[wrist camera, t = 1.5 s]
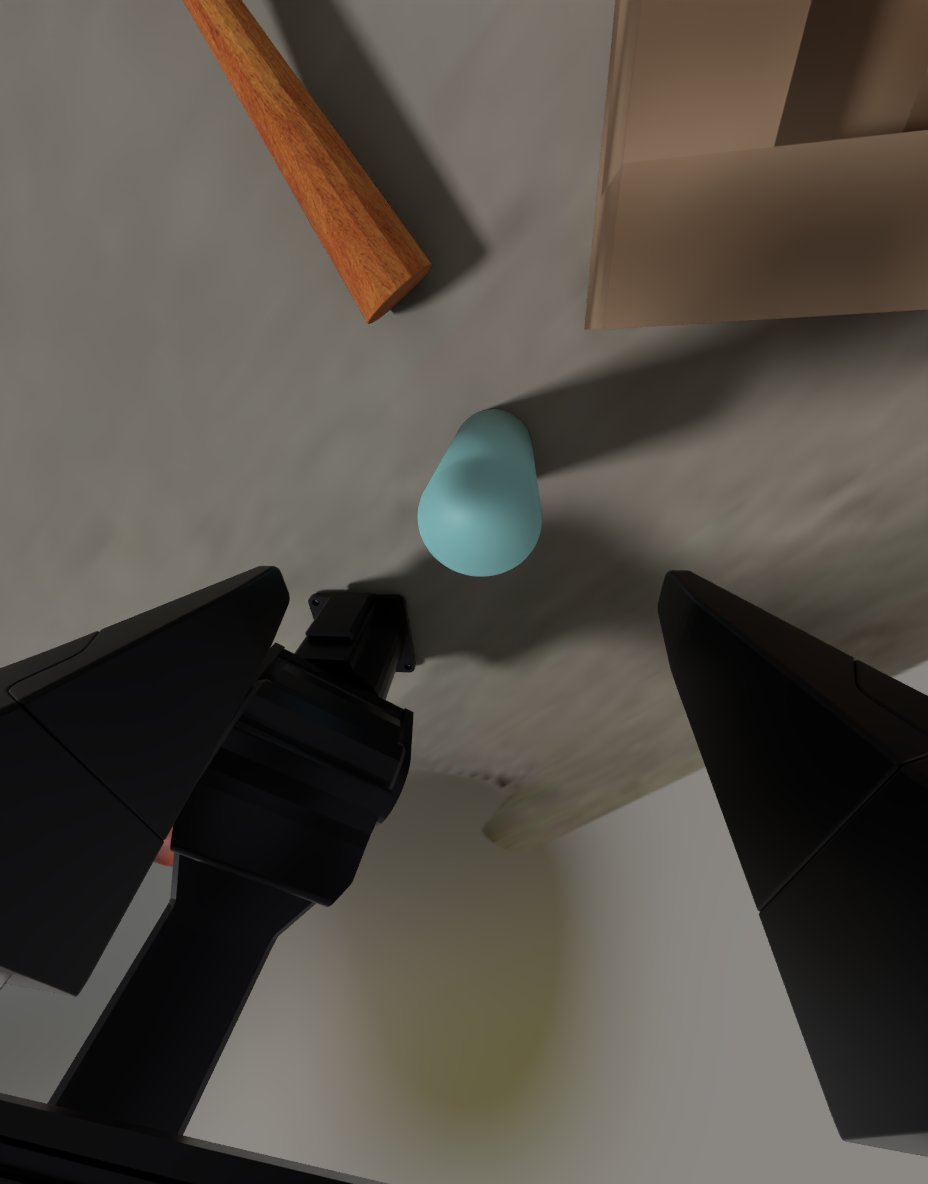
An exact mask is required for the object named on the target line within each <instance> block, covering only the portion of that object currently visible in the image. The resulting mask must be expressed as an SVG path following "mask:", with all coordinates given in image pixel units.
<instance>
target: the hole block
mask: <svg viewBox="0 0 928 1184" xmlns="http://www.w3.org/2000/svg"><path fill="white" fill-rule="evenodd" d="M913 310H928V0H616V1H615V12H614V23H613V33H612V44H611V54H610V65H609V76H608V86H607V97H606V107H605V118H604V128H603V139H602V150H601V160H600V171H599V181H598V192H597V203H596V213H595V224H594V234H593V245H592V255H591V266H590V277H589V287H588V298H587V308H586V319H585V329H619V328H635V327H652V326H668V325H684V324H701V323H717V322H733V321H750V320H766V319H782V318H799V317H815V316H831V315H847V314H864V313H880V312H896V311H913Z"/></svg>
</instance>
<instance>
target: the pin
mask: <svg viewBox="0 0 928 1184" xmlns="http://www.w3.org/2000/svg"><path fill="white" fill-rule="evenodd" d="M418 526H419V531H420V534H421V537H422V539H423V542H424V544H425V545H426V547H427V548H428V550H429V551H430V553H431V554H432V555H433V556H434V557H435V558H436V559H437V560H438V561H439V562H441V563H442V564H443V565H445V566H446V567H448V568H450V569H451V570H454V571H456V572H458V573H462V574H465V575H470V576H479V577H483V576H493V575H498V574H501V573H504V572H506V571H509V570H511V569H513V568H514V567H516V566H517V565H519V564H520V563H522V562H523V561H524V560H525V559H526V558H527V557H528V556H529V554H530V553H531V552H532V550H533V549H534V547H535V546H536V543H537V541H538V539H539V536H540V532H541V526H542V513H541V506H540V499H539V491H538V484H537V477H536V469H535V462H534V455H533V447H532V441H531V437H530V434H529V432H528V430H527V428H526V426H525V425H524V424H523V422H522V421H521V420H520V419H519V418H518V417H516V416H515V415H513V414H511V413H509V412H507V411H504V410H499V409H488V410H483V411H480V412H478V413H476V414H474V415H472V416H471V417H470V418H468V419H467V420H466V421H465V422H464V423H463V425H462V426H461V427H460V429H459V431H458V433H457V434H456V436H455V438H454V440H453V441H452V443H451V445H450V447H449V448H448V450H447V452H446V454H445V455H444V457H443V459H442V461H441V462H440V464H439V466H438V468H437V470H436V471H435V473H434V475H433V477H432V478H431V480H430V482H429V484H428V485H427V487H426V489H425V491H424V493H423V494H422V497H421V500H420V503H419V507H418Z"/></svg>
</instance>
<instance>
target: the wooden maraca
mask: <svg viewBox="0 0 928 1184" xmlns="http://www.w3.org/2000/svg"><path fill="white" fill-rule="evenodd" d="M183 2H184V4H185V5H186V7H187V9H188V11H189V12H190V14H191V16H192V17H193V19H194V21H195V23H196V24H197V26H198V28H199V30H200V31H201V33H202V35H203V37H204V38H205V40H206V42H207V44H208V45H209V47H210V49H211V51H212V52H213V54H214V56H215V58H216V59H217V61H218V63H219V65H220V66H221V68H222V70H223V72H224V73H225V75H226V77H227V79H228V80H229V82H230V84H231V86H232V87H233V89H234V91H235V93H236V94H237V96H238V98H239V100H240V101H241V103H242V105H243V107H244V108H245V110H246V112H247V114H248V115H249V117H250V119H251V121H252V122H253V124H254V126H255V128H256V129H257V131H258V133H259V135H260V136H261V138H262V140H263V141H264V143H265V145H266V147H267V148H268V150H269V152H270V154H271V155H272V157H273V159H274V161H275V162H276V164H277V166H278V168H279V169H280V171H281V173H282V175H283V176H284V178H285V180H286V182H287V183H288V185H289V187H290V189H291V190H292V192H293V194H294V196H295V197H296V199H297V201H298V203H299V204H300V206H301V208H302V210H303V211H304V213H305V215H306V217H307V218H308V220H309V222H310V224H311V225H312V227H313V229H314V231H315V232H316V234H317V236H318V238H319V239H320V241H321V243H322V245H323V246H324V248H325V250H326V252H327V253H328V255H329V257H330V259H331V260H332V262H333V264H334V265H335V267H336V269H337V271H338V272H339V274H340V276H341V278H342V279H343V281H344V283H345V285H346V286H347V288H348V290H349V292H350V293H351V295H352V297H353V299H354V300H355V302H356V304H357V306H358V307H359V309H360V311H361V313H362V314H363V316H364V318H365V320H366V321H367V323H368V324H370V323H373V322H374V321H376V320H378V319H379V318H380V317H382V316H383V315H384V314H386V313H387V312H388V311H389V310H391V309H392V308H393V307H394V306H395V305H396V304H397V303H398V302H399V301H400V300H401V299H402V298H403V297H404V296H405V295H406V294H407V293H408V292H410V291H411V290H412V289H413V288H414V287H415V286H416V285H417V284H418V283H419V282H420V281H421V280H422V279H423V278H424V276H425V275H426V274H427V273H428V272H429V270H430V268H431V267H432V264H431V262H430V261H429V260H428V258H427V257H426V255H425V254H424V253H423V251H422V250H421V248H420V247H419V246H418V244H417V243H416V242H415V240H414V239H413V237H412V236H411V235H410V233H409V232H408V230H407V229H406V228H405V226H404V225H403V223H402V222H401V221H400V219H399V218H398V217H397V215H396V214H395V212H394V211H393V210H392V208H391V207H390V205H389V204H388V203H387V201H386V200H385V199H384V197H383V196H382V194H381V193H380V192H379V190H378V189H377V187H376V186H375V185H374V183H373V182H372V180H371V179H370V178H369V176H368V175H367V174H366V172H365V171H364V169H363V168H362V167H361V165H360V164H359V162H358V161H357V160H356V158H355V157H354V156H353V154H352V153H351V151H350V150H349V149H348V147H347V146H346V144H345V143H344V142H343V140H342V139H341V137H340V136H339V135H338V133H337V132H336V131H335V129H334V128H333V126H332V125H331V124H330V122H329V121H328V119H327V118H326V117H325V115H324V114H323V113H322V111H321V110H320V108H319V107H318V106H317V104H316V103H315V101H314V100H313V99H312V97H311V96H310V94H309V93H308V92H307V90H306V89H305V88H304V86H303V85H302V83H301V82H300V81H299V79H298V78H297V76H296V75H295V74H294V72H293V71H292V70H291V68H290V67H289V65H288V64H287V63H286V61H285V60H284V58H283V57H282V56H281V54H280V53H279V52H278V50H277V49H276V47H275V46H274V45H273V43H272V42H271V40H270V39H269V38H268V36H267V35H266V33H265V32H264V31H263V29H262V28H261V27H260V25H259V24H258V22H257V21H256V20H255V18H254V17H253V15H252V14H251V13H250V11H249V10H248V9H247V7H246V6H245V4H244V3H243V2H242V0H183Z"/></svg>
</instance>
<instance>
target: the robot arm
mask: <svg viewBox="0 0 928 1184" xmlns="http://www.w3.org/2000/svg"><path fill="white" fill-rule="evenodd" d="M289 600H290V597H289V592H288V590H287V587H286V584H285V582H284V579H283V576H282V574H281V571H280V570H279V569H278V568H277V567H275V566H259V567H256V568H253V569H251V570H248V571H246V572H243V573H241V574H238V575H236V576H233V577H231V578H229V579H226V580H224V581H221V582H219V583H216V584H214V585H211V586H209V587H206V588H204V589H201V590H199V591H196V592H194V593H191V594H189V595H186V596H184V597H181V598H179V599H176V600H174V601H171V602H169V603H166V604H164V605H161V606H159V607H156V608H154V609H151V610H149V611H146V612H144V613H141V614H139V615H136V616H134V617H131V618H129V619H126V620H124V621H121V622H119V623H116V624H114V625H111V626H109V627H106V628H104V629H102V630H101V631H100V632H99V631H96V632H94V633H91V634H89V635H86V636H84V637H81V638H79V639H76V640H74V641H71V642H68V643H66V644H63V645H61V646H58V647H56V648H53V649H51V650H48V651H45V652H43V653H40V654H37V655H35V656H32V657H29V658H27V659H24V660H21V661H19V662H16V663H13V664H11V665H8V666H5V667H2V668H0V990H1V988H2V987H3V986H4V984H10V985H16V986H21V987H26V988H32V989H37V990H42V991H47V992H53V993H58V994H64V995H69V996H74V997H76V996H77V995H78V994H79V993H80V991H81V990H82V988H83V987H84V985H85V984H86V982H87V981H88V979H89V977H90V975H91V974H92V972H93V970H94V968H95V966H96V965H97V963H98V961H99V959H100V957H101V956H102V954H103V952H104V950H105V948H106V946H107V945H108V943H109V941H110V939H111V937H112V936H113V934H114V932H115V930H116V928H117V927H118V925H119V923H120V921H121V919H122V917H123V916H124V914H125V912H126V910H127V908H128V907H129V905H130V903H131V901H132V899H133V897H134V896H135V894H136V892H137V890H138V888H139V887H140V885H141V883H142V881H143V879H144V878H145V876H146V874H147V872H148V870H149V869H150V866H151V865H152V863H153V861H154V859H155V858H156V856H157V854H158V852H159V850H160V849H161V847H162V845H163V843H164V841H163V840H165V839H166V837H167V835H168V834H169V832H170V830H171V828H172V826H173V831H172V838H171V845H170V850H171V851H172V852H174V860H173V873H172V886H171V898H170V901H169V904H168V905H167V907H166V909H165V910H164V912H163V913H162V915H161V917H160V919H159V920H158V922H157V923H156V925H155V927H154V929H153V930H152V932H151V934H150V935H149V937H148V938H147V940H146V942H145V943H144V945H143V947H142V948H141V950H140V952H139V953H138V955H137V956H136V958H135V960H134V961H133V963H132V965H131V966H130V968H129V970H128V971H127V973H126V975H125V976H124V978H123V980H122V981H121V983H120V985H119V986H118V988H117V989H116V991H115V993H114V994H113V996H112V998H111V999H110V1001H109V1003H108V1004H107V1006H106V1008H105V1009H104V1011H103V1013H102V1014H101V1016H100V1018H99V1019H98V1021H97V1023H96V1024H95V1026H94V1028H93V1029H92V1031H91V1032H90V1034H89V1036H88V1037H87V1039H86V1041H85V1042H84V1044H83V1046H82V1047H81V1049H80V1051H79V1052H78V1054H77V1056H76V1057H75V1059H74V1060H73V1062H72V1064H71V1065H70V1067H69V1069H68V1070H67V1072H66V1074H65V1075H64V1077H63V1079H62V1080H61V1082H60V1084H59V1085H58V1087H57V1089H56V1090H55V1092H54V1094H53V1095H52V1097H51V1098H50V1100H49V1102H48V1103H47V1104H46V1103H42V1102H37V1101H33V1100H29V1099H25V1098H20V1097H16V1096H12V1095H8V1094H3V1093H0V1184H387V1183H383V1182H379V1181H375V1180H370V1179H366V1178H362V1177H358V1176H353V1175H349V1174H345V1173H340V1172H336V1171H332V1170H328V1169H323V1168H319V1167H314V1166H310V1165H306V1164H302V1163H298V1162H294V1161H289V1160H285V1159H281V1158H276V1157H272V1156H268V1155H264V1154H259V1153H255V1152H251V1151H247V1150H242V1149H238V1148H234V1147H230V1146H225V1145H221V1144H216V1143H212V1142H208V1141H204V1140H200V1139H195V1138H191V1137H187V1136H183V1133H184V1132H185V1129H186V1127H187V1125H188V1123H189V1121H190V1119H191V1117H192V1115H193V1112H194V1110H195V1108H196V1106H197V1104H198V1102H199V1100H200V1098H201V1096H202V1093H203V1092H204V1089H205V1087H206V1085H207V1083H208V1081H209V1079H210V1077H211V1074H212V1073H213V1071H214V1068H215V1066H216V1064H217V1062H218V1060H219V1058H220V1056H221V1054H222V1051H223V1050H224V1047H225V1045H226V1043H227V1041H228V1039H229V1037H230V1035H231V1033H232V1030H233V1028H234V1026H235V1024H236V1022H237V1020H238V1018H239V1016H240V1014H241V1011H242V1010H243V1007H244V1005H245V1003H246V1001H247V999H248V997H249V995H250V993H251V990H252V989H253V986H254V984H255V982H256V980H257V978H258V976H259V974H260V972H261V969H262V968H263V965H264V963H265V961H266V959H267V957H268V955H269V953H270V951H271V949H272V947H273V945H274V943H275V941H276V939H277V937H278V936H279V935H280V934H281V933H282V932H283V931H285V930H286V929H287V928H288V927H289V926H291V925H292V924H293V923H294V922H295V921H296V920H298V919H299V918H300V917H301V916H302V915H303V914H304V913H305V912H307V911H308V910H309V909H310V908H311V907H313V906H314V905H315V904H316V903H317V904H320V905H323V906H326V907H328V906H330V905H332V904H333V903H334V902H335V901H336V900H337V899H338V898H339V897H340V896H341V895H342V893H343V892H344V891H345V890H346V889H347V888H348V887H349V886H350V885H351V883H352V881H353V879H354V877H355V874H356V871H357V869H358V866H359V864H360V861H361V858H362V856H363V853H364V850H365V848H366V845H367V843H368V840H369V837H370V835H371V833H372V831H373V829H374V827H375V826H378V825H380V824H381V823H382V822H383V821H384V820H385V819H386V818H387V816H388V815H389V813H390V812H391V811H392V809H393V807H394V805H395V804H396V802H397V800H398V798H399V796H400V794H401V791H402V789H403V786H404V783H405V781H406V778H407V775H408V771H409V767H410V760H411V745H412V729H413V712H412V711H410V710H408V709H406V708H405V709H402V708H400V707H398V706H396V705H394V704H392V703H390V702H388V701H386V697H387V694H388V691H389V688H390V686H391V683H392V680H393V677H394V674H395V672H413V671H414V669H415V666H416V662H415V655H414V649H413V643H412V637H411V631H410V625H409V618H408V612H407V606H406V601H405V599H404V598H403V597H402V596H400V595H377V594H368V593H333V594H320V593H316V594H313V595H312V596H311V597H310V598H309V600H308V603H309V606H310V609H311V612H312V615H313V618H314V621H313V622H312V624H311V625H310V627H309V628H308V630H307V631H306V633H305V634H306V637H305V639H304V640H303V642H302V643H301V645H300V646H299V648H298V649H297V651H296V652H295V654H293V653H292V652H290V651H288V650H286V649H284V648H285V647H284V646H282V645H280V644H278V643H275V644H274V645H273V646H272V647H271V645H272V643H273V640H274V638H275V636H276V633H277V631H278V628H279V626H280V624H281V621H282V619H283V616H284V614H285V612H286V609H287V607H288V604H289ZM315 600H317V601H318V602H319V603H318V602H316V601H315ZM395 602H399V603H400V604H396V603H395ZM658 614H659V619H660V623H661V628H662V633H663V637H664V642H665V646H666V651H667V656H668V660H669V664H670V668H671V672H672V675H673V678H674V681H675V684H676V686H677V689H678V692H679V695H680V697H681V700H682V703H683V706H684V709H685V711H686V714H687V717H688V720H689V722H690V725H691V728H692V731H693V733H694V736H695V739H696V742H697V744H698V747H699V750H700V753H701V755H702V758H703V761H704V764H705V766H706V769H707V772H708V775H709V777H710V780H711V783H712V786H713V789H714V791H715V794H716V797H717V799H718V802H719V805H720V808H721V811H722V813H723V816H724V819H725V822H726V824H727V827H728V830H729V833H730V835H731V838H732V841H733V843H734V846H735V849H736V852H737V855H738V858H739V860H740V863H741V866H742V869H743V871H744V874H745V877H746V880H747V882H748V885H749V888H750V891H751V893H752V896H753V899H754V902H755V904H756V907H757V909H758V911H760V913H759V916H760V919H761V921H762V925H763V927H764V930H765V933H766V936H767V938H768V941H769V944H770V946H771V949H772V952H773V955H774V958H775V961H776V963H777V966H778V969H779V972H780V974H781V977H782V980H783V983H784V985H785V988H786V991H787V994H788V996H789V999H790V1002H791V1005H792V1007H793V1010H794V1013H795V1016H796V1018H797V1021H798V1024H799V1027H800V1029H801V1032H802V1035H803V1037H804V1041H805V1043H806V1046H807V1049H808V1052H809V1054H810V1057H811V1060H812V1063H813V1065H814V1068H815V1071H816V1073H817V1076H818V1079H819V1082H820V1085H821V1088H822V1090H823V1093H824V1096H825V1099H826V1101H827V1104H828V1107H829V1110H830V1112H831V1115H832V1117H833V1120H834V1123H835V1124H836V1127H837V1130H838V1132H839V1134H840V1136H841V1138H842V1140H844V1141H846V1142H852V1143H858V1144H862V1145H868V1146H873V1147H878V1148H884V1149H889V1150H894V1151H900V1152H905V1153H910V1154H916V1155H921V1156H927V1157H928V696H927V695H925V694H923V693H921V692H919V691H917V690H915V689H913V688H911V687H909V686H907V685H905V684H903V683H902V682H900V681H898V680H896V679H894V678H892V677H890V676H888V675H886V674H884V673H882V672H880V671H878V670H876V669H874V668H873V667H871V666H869V665H867V664H865V663H863V662H861V661H859V660H855V661H854V658H853V657H852V656H850V655H848V654H846V653H844V652H842V651H840V650H838V649H837V648H835V647H833V646H831V645H829V644H827V643H825V642H823V641H821V640H819V639H818V638H816V637H814V636H812V635H810V634H808V633H806V632H804V631H802V630H800V629H799V628H797V627H795V626H793V625H791V624H789V623H787V622H785V621H783V620H782V619H780V618H778V617H776V616H774V615H772V614H770V613H768V612H766V611H765V610H763V609H761V608H759V607H757V606H755V605H753V604H751V603H749V602H748V601H746V600H744V599H742V598H740V597H738V596H736V595H734V594H732V593H730V592H729V591H727V590H725V589H723V588H721V587H719V586H717V585H715V584H713V583H712V582H710V581H708V580H706V579H704V578H702V577H700V576H698V575H696V574H695V573H693V572H691V571H687V570H671V571H669V572H667V574H666V575H665V578H664V582H663V586H662V590H661V593H660V597H659V601H658ZM270 647H271V648H270ZM407 665H410V666H407Z"/></svg>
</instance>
